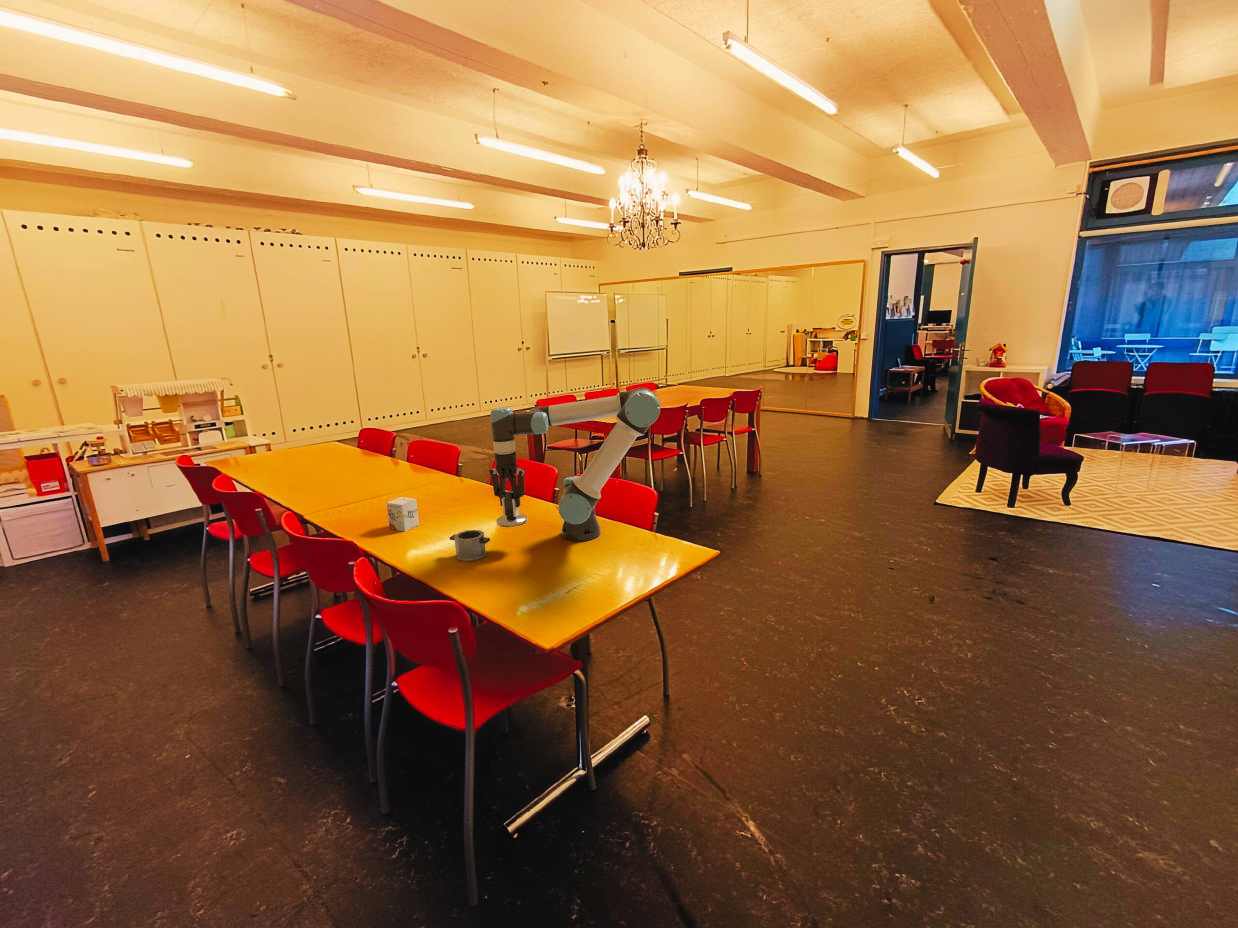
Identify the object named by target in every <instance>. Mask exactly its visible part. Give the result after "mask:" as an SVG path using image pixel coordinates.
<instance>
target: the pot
mask: <svg viewBox="0 0 1238 928" xmlns="http://www.w3.org/2000/svg"><path fill="white" fill-rule="evenodd" d="M449 540H450V541H454V545H455V546H454V547H455V554H456V555H455V556H456V559H457V560H458V561H460V562H465V563H467V562H476V561H480V560H482V559H483V558H485V557H486V554H487V553H486V552H487V551H486V550H487V549H486V544H487V543H489V542H490V541H491V538H490V537H486V536H485V531H483V530H478V529H466V530H463V531H459V532H458V533H456V534H453V535H451V536H449Z"/></svg>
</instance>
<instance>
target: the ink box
mask: <svg viewBox="0 0 1238 928" xmlns="http://www.w3.org/2000/svg"><path fill="white" fill-rule="evenodd" d="M385 503H386V510H387V517H388V518H387V519H388V527H389V530H392V531H400V532H407V531H409V530H411V529H414V528H416V527H417V526H419V525H420V521H419V513H418V504H417V498H412V497H405V496H404V497H403V496H399V497H397V498H394V499H393V500H389V501H388V502H385Z"/></svg>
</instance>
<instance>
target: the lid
mask: <svg viewBox="0 0 1238 928" xmlns="http://www.w3.org/2000/svg"><path fill="white" fill-rule="evenodd" d="M504 497H505V507H506V516H503V515H502V516H500V517H497V519H496V520H495V521H496V525H497V526H498V527H501V528H512V527H513V528H514V527H520V526H522V525H524V524H526V523H527V522H528V516H527V515H525V514H522V513H519V515H517V516H516V517H514V513H513V503H512V499H513V498H514V496H513V492H512V490H507V491H505V492H504Z"/></svg>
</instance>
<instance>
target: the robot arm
mask: <svg viewBox="0 0 1238 928" xmlns="http://www.w3.org/2000/svg"><path fill="white" fill-rule="evenodd" d="M660 413H661V403H660V401H659V398H658V397H657V394H656V393H655V392H654V391H652V390H651V389H649V388H647V387H638V388H637V387H636V388H634V389H631V390H625V391H621V392H618V393H616V395H613V396H606V397H598V398H594V399H586V400H580V401H572V402H565V403H559V404H554V405H553V404H552V405H546V406H535V407H532V408H530V410H529V411H528V412H520V413H515V412H513V409H512V408H511V407H497V408H493V409H491V411H490V424H491V426H490V427H491V433H492V434H491V435H492V444H493V446H492V447H493V452H494V462H495V467H494V468H491V469H489V472H488V473H489V475H490V476H491V481H492V487H493V495H494V496H495V497H498V498H499V502H500V506H501V507H502V513H503V515H502V516H506V507H505V497H504V492H506V488H507V480H508V481H509V484H510V487H511V491H512V492H513V496H514V498H513V499H512V503H513V513H514V517H516V516H517V515H519V514H520V507H521V498H522V497H524V496H525V494H526V493H525V474H526V470H525V469H523V468H522V469H521V468H519V466H518V464H517V462H518V460H517V459H518V458H517V452H516V439H515V437H516V436H518V435H520V436H521V435H524V436H525V435H540V434H543V435H544V434H546V433H548V431H549V427H555V426H560V425H566V424H575V423H581V422H582V423H583V422H588V421H594V420H595V421H596V420H601V419H609V418H616V424H615V425H614V426H613V428H612V430H610V432H609V434H608V435H607V437H606V438H605V440H604V441H603V443H602V444H601V446H600V447H599V449H598V450H597V452H596V453H595V455H594V456H593V458H592V459H591V460H590V462H589V464H588V465H587V467H586V468H585V470H584V471H583V473H582V474H581V475H579V476H578V475H575V476H569V477H565V478H564V479H563V485H562V486H563V492H562V495H561V497H560V499H559V501H558V504H557V505H558V507H557V511H558V514H559V516H560V517H561V519H562V520H563V523H562V527H561V537H562V538H563V539H564V540H568V541H571V542H572V541H574V542H584V541H590V540H593V539H596V538H598V537H599V536H600V535H601V526H600V524H599V520H598V519H597V515H596V506H597V503H598V502H599V500H601V498H602V494H601V491H602V488H603V487H604V486H605V484H606V483H607V482H608V480H609V479H610V478H611V476H612V474H613V473H614V471H616V468H617V467H618V465H619V464H620V463H621V461H622V460H623V458H624V457H625V456H626V454H627V452H629V449H630V448H631V446H632V445H633V444H634V442H635V441H636V439H637V438H638V437H642V436H645V434H646V432H647V431H648V429H649V428H650V427H651V425H653V424H654V423H655V422H656V421H657V420H658V418H659V416H660Z"/></svg>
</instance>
